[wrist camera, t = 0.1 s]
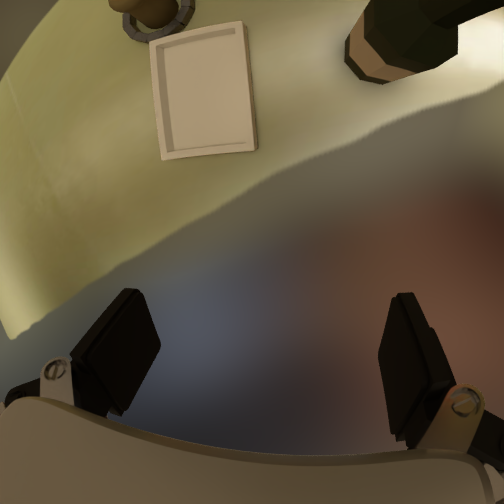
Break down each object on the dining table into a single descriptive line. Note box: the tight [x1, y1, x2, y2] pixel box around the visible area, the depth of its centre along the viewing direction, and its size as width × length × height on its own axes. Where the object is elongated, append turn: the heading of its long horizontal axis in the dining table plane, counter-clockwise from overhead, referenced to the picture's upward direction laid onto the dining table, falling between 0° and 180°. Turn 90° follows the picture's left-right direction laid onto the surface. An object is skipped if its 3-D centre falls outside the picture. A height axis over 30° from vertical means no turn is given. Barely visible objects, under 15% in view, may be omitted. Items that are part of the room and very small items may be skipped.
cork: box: [108, 0, 179, 29], centre depth 24 cm, size 6×6×11 cm
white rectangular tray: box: [149, 20, 258, 160], centre depth 33 cm, size 18×13×3 cm
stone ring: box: [123, 0, 195, 43], centre depth 28 cm, size 11×11×2 cm
